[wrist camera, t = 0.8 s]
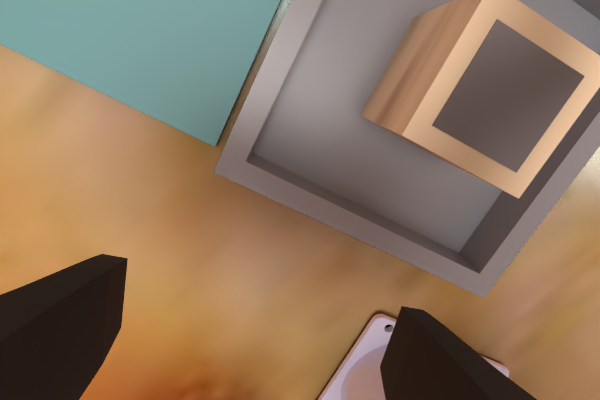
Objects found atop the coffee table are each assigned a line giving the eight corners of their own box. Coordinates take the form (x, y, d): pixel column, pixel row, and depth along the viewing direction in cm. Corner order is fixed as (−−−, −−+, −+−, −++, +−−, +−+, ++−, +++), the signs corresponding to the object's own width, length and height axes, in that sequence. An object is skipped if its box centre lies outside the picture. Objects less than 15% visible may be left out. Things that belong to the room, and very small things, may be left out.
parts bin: (639, 21, 16) (701, 12, 14) (459, 271, 20) (483, 298, 17) (372, -171, 13) (392, -224, 11) (222, 159, 17) (212, 172, 15)
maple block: (497, 70, 16) (616, 66, 10) (440, 159, 17) (519, 199, 12) (413, 18, 15) (493, -18, 10) (359, 115, 16) (402, 135, 11)
